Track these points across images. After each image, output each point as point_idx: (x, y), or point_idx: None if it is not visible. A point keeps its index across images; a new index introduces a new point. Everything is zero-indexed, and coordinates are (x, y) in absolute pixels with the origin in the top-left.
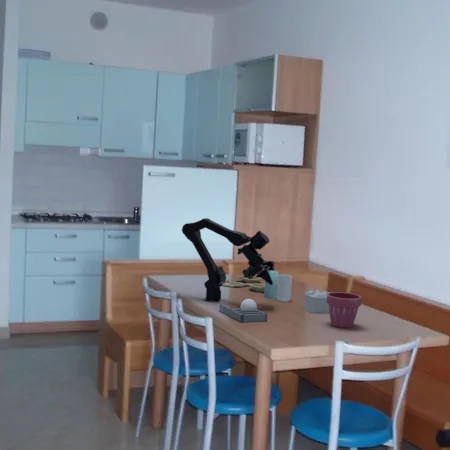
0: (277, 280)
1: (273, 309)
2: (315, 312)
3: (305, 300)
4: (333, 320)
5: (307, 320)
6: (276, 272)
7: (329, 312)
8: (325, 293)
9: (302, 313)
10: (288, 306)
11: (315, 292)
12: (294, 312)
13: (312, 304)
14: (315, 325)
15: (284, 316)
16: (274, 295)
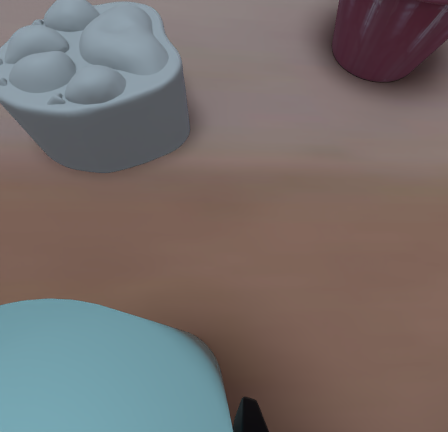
0: (156, 322)
1: None
2: (189, 124)
3: (111, 137)
4: (425, 58)
5: (369, 162)
6: (183, 360)
7: (417, 44)
8: (91, 6)
9: (226, 180)
10: (64, 251)
11: (101, 45)
12: (218, 218)
13: (181, 110)
14: (444, 135)
15: (347, 270)
16: (208, 348)
